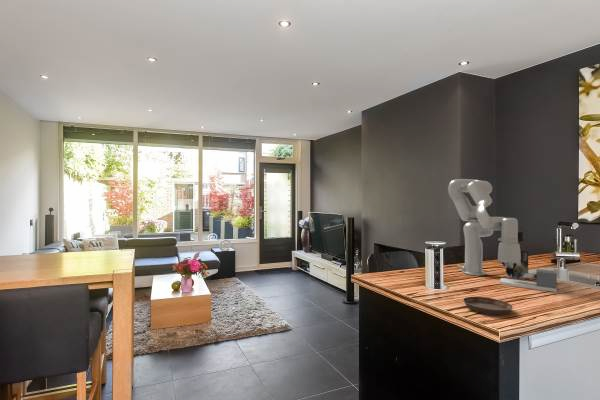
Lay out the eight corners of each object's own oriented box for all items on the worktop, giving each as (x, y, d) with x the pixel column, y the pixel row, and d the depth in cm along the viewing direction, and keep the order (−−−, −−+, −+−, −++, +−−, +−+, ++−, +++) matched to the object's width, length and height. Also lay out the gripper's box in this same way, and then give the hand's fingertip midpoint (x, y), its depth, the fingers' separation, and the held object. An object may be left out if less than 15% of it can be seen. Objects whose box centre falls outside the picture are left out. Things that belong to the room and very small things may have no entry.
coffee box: (522, 276, 194) (522, 249, 194) (528, 279, 188) (529, 250, 188) (505, 276, 195) (506, 248, 195) (511, 278, 189) (512, 250, 189)
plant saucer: (479, 300, 148) (480, 294, 148) (521, 313, 133) (522, 305, 133) (453, 306, 140) (454, 299, 140) (495, 320, 124) (495, 312, 124)
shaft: (514, 279, 174) (514, 270, 174) (514, 277, 178) (514, 268, 178) (541, 283, 168) (541, 273, 167) (541, 281, 172) (541, 271, 172)
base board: (499, 284, 176) (499, 281, 176) (501, 280, 184) (501, 277, 184) (556, 292, 162) (556, 289, 162) (555, 287, 170) (555, 284, 170)
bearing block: (536, 285, 167) (536, 271, 167) (536, 282, 174) (536, 269, 174) (556, 288, 163) (556, 274, 163) (555, 285, 169) (555, 271, 169)
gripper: (492, 240, 179) (492, 274, 179) (526, 242, 170) (525, 278, 170) (494, 239, 185) (493, 272, 185) (526, 241, 176) (526, 275, 176)
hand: (509, 274), depth 177 cm, fingers closed
